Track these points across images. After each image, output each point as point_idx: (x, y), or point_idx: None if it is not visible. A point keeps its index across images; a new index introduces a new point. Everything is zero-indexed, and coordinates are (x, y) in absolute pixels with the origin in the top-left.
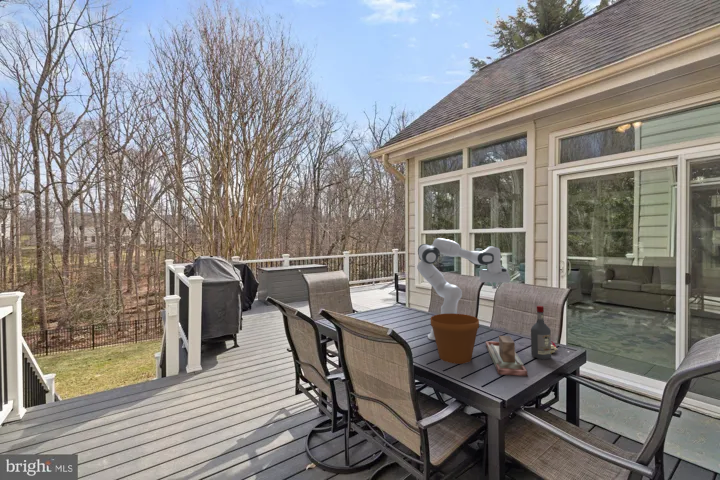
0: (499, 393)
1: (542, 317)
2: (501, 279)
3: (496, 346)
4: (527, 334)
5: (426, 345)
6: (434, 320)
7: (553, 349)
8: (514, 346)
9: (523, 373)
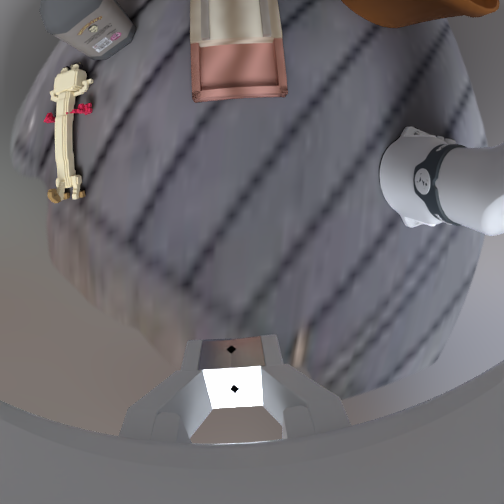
0: None
1: None
2: (6, 472)
3: (249, 29)
4: (113, 283)
5: (456, 92)
6: (486, 3)
7: (63, 69)
8: None
9: None
